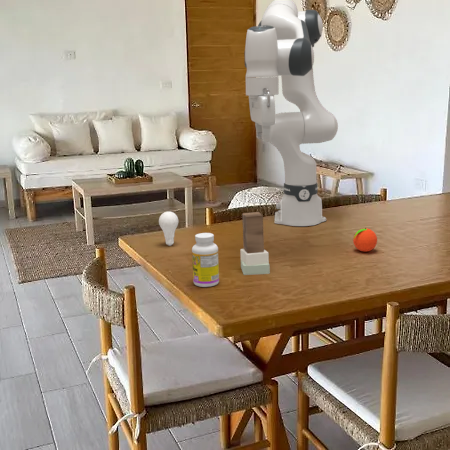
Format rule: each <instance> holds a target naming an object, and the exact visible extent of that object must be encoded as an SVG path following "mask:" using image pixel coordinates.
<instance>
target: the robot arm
mask: <svg viewBox="0 0 450 450" xmlns="http://www.w3.org/2000/svg"><path fill="white" fill-rule="evenodd" d="M323 24H324V23H323V19H322V17H321V15H320V13H319V12H318V11H317V10H315V9H306V10H299V11H298V7H297V4H296V2H294V0H272V1H271V2H270V3H269V4H268V6H267V7H266V9H265V10H264V12H263V14H262V18H261V20H260V22H259V23H258V25H257V26H255V25H254V26H250V27H249V28H248V29H247V30H246V31H247V32H246V36H245V37H246V38H245V47H244V53H243V54H244V67H245V68H246V73H245V96H246V97H247V96H248V103H249V104H248V105H249V112H250V113H249V115H250V119H251V121H252V122H254V123H255V130H256V131H255V132H256V138H257V139H258V140H261V141H262V142H263V143H270V144H271V145H273V146H274V147H275V148H276V149H277V151H278V152H279V153H280V155H281V158H282V160H283V167H284V183H283V188H282V189H283V195H282V196H281V199H280V201H279V202H276V206H275V208H276V209H277V210H278V211H275V212H274V222H273V223H274V224H279V225H285V226H290V227H292V226H293V227H308V226H309V227H310V226H315V225H320V224H321V223H323V222H326V221H327V217H325V216H323V203H322V198H321V197H320V196H319V195H318V193H319V192H318V190H319V186H318V182H317V162H316V161H317V160H315V158H313V156H311V155H309V154H308V153H305V152H303V151H301V148H300V145H304V144H321V143H327V142H329V141H332V140H334V138H335V137H336V135H337V133H338V127H339V125H338V120H337V118H336V116H335V115H334V114H333V113H332V112H330V111H328V110H327V109H326V108H325V107H324V106H323V104H322V103H321V102H320V100H319V98H318V96H317V91H316V87H315V79H314V78H315V77H314V67H313V66H314V62H315V52H314V47H315V44H317V43H318V42H319V41H320V39H321V38H322V33H323V30H324V29H323V28H324V25H323ZM280 76H281V77H280ZM279 78H281V92H282V96H283V97H284V99H285V100H286V101H288V102H290V103H292V104H293V105H295V106H297V108H298V109H299V110H300V111H294V112H293V111H289V112H285V111H284V112H277V113H276V104H275V101H276V100H275V96H277V95H278V96H279V91H280V90H279V89H280V87H279V86H280V85H279V83H280V82H279Z"/></svg>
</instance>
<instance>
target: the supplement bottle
mask: <svg viewBox="0 0 450 450" xmlns="http://www.w3.org/2000/svg"><path fill="white" fill-rule="evenodd" d="M194 237H195V238H194V239H195V242H196V243H195V244H194V245H193V246H192V248H191V254H192V255H191V258H192V259H191V260H192V261H191V262H192V280H193V284H194V285H195V286H197V287H199V288H200V287H201V288H209V287H214V286H217V285H218V284H219V283H220V270H219V268H220V267H219V266H220V265H219V247H218V245H217V244H216V243H214V240H215V238H214V237H215V235H214V234H213V233H211V232H202V233H196V234H195V235H194Z"/></svg>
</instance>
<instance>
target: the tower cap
mask: <svg viewBox="0 0 450 450" xmlns="http://www.w3.org/2000/svg"><path fill="white" fill-rule="evenodd" d="M269 255H270V254H269V251H267V250H266V249H264V252H258V253H247V252H246V251H245V250H244V248H240V261H241V260H242V261H243V262H244V263H245V264H246V265H247V266H250V265H259V264H268V263H269V260H270V259H269V258H270V257H269ZM269 264H270V263H269Z"/></svg>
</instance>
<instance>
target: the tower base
mask: <svg viewBox="0 0 450 450" xmlns="http://www.w3.org/2000/svg"><path fill="white" fill-rule="evenodd" d="M240 268H241V271H242V275H243V276H252V275H268V274H269V275H270V274H271V267H270V263H268V264H259V265H250V266H247V265H246V264H245V263H244V262H243V261H242V260H241V259H240Z"/></svg>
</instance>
